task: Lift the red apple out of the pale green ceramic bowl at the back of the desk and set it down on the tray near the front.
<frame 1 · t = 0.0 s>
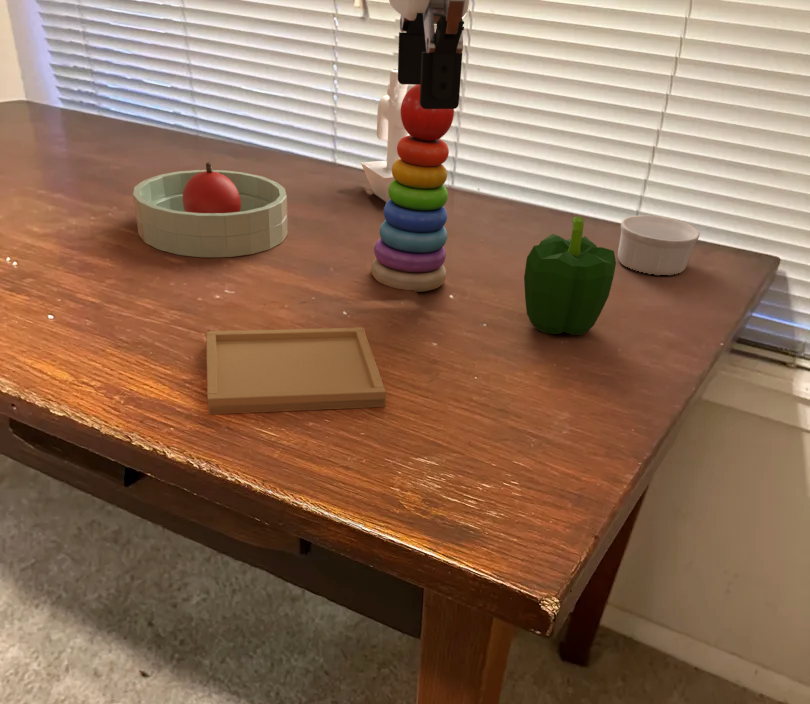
hand: (426, 95, 71), 19 cm above the table, tool pointing down, fingers open, 9 cm apart
apple: (214, 231, 93), point 1 cm above the table, touching bowl
stacking toy: (407, 282, 87), on the table, touching gripper
bell pepper: (559, 328, 80), on the table
tray: (292, 374, 69), on the table
figurine: (395, 198, 110), on the table
ramekin: (650, 266, 96), on the table
bowl: (214, 236, 94), on the table
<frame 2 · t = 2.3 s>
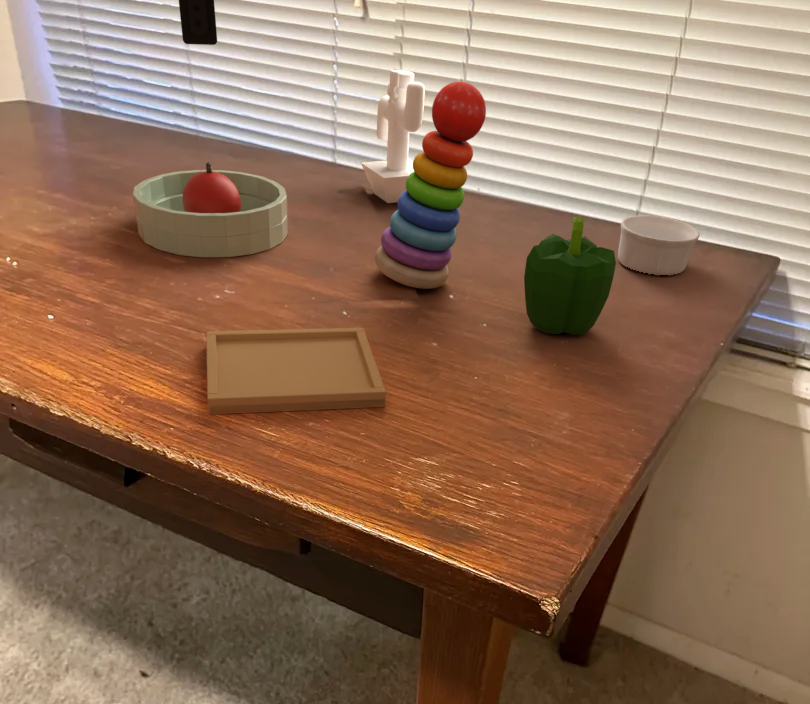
hand: (200, 35, 81), 20 cm above the table, tool pointing down, fingers open, 9 cm apart
stacking toy: (408, 275, 86), point 1 cm above the table
everything else where it was.
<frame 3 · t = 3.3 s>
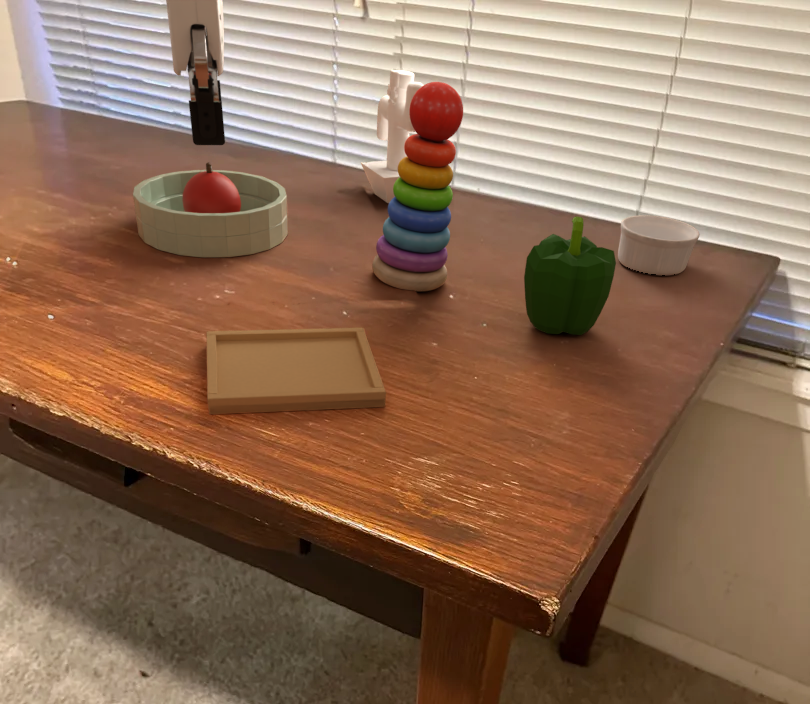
hand: (208, 132, 87), 11 cm above the table, tool pointing down, fingers open, 9 cm apart
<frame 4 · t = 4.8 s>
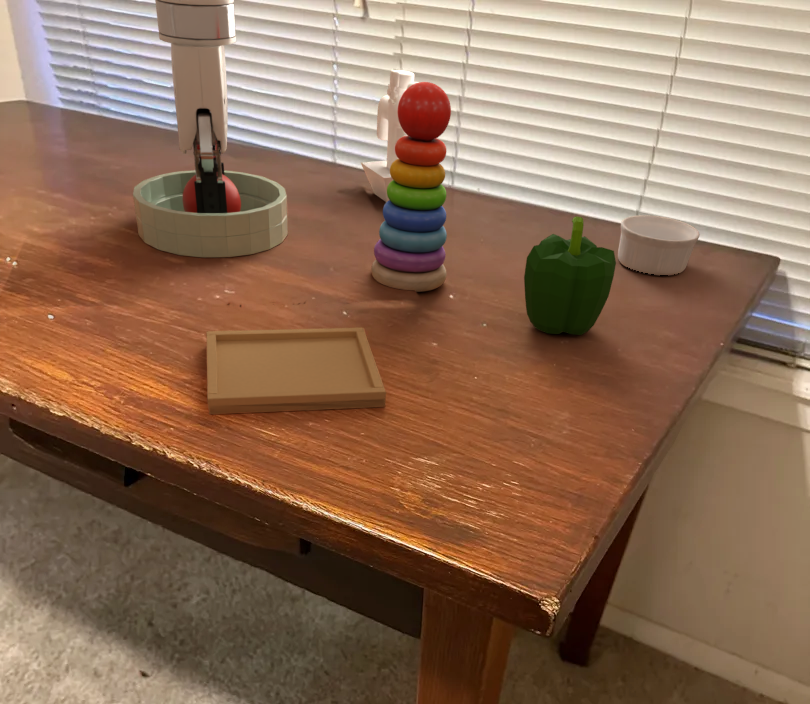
hand: (212, 207, 92), 3 cm above the table, tool pointing down, fingers closed on apple, 6 cm apart
apple: (214, 231, 93), point 1 cm above the table, touching bowl, gripper
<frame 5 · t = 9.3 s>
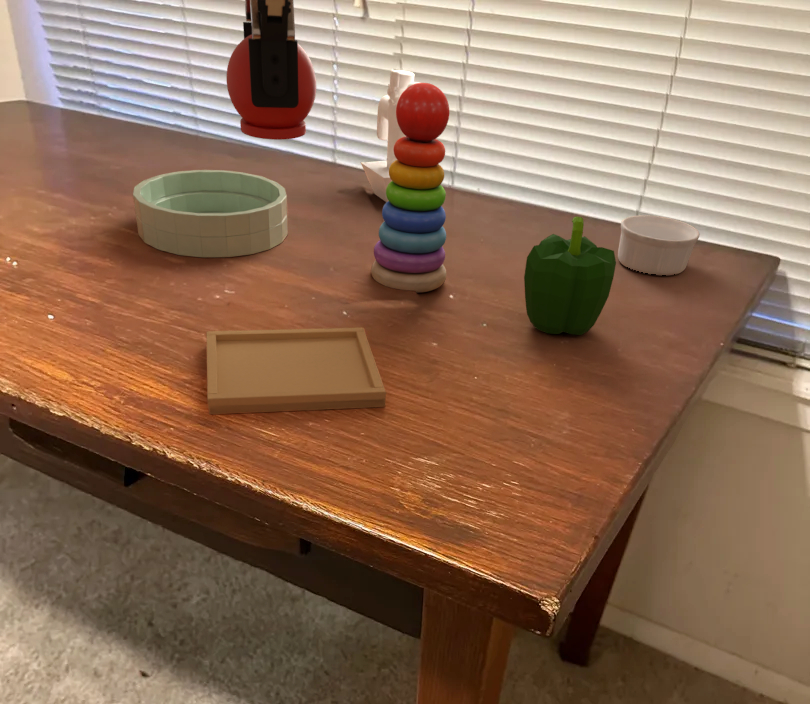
hand: (271, 92, 59), 21 cm above the table, tool pointing down, fingers closed on apple, 6 cm apart
apple: (273, 131, 61), point 18 cm above the table, touching gripper
when the fingers open (3 cm above the table, at t = 13.9 s): apple stays where it is, resting on tray.
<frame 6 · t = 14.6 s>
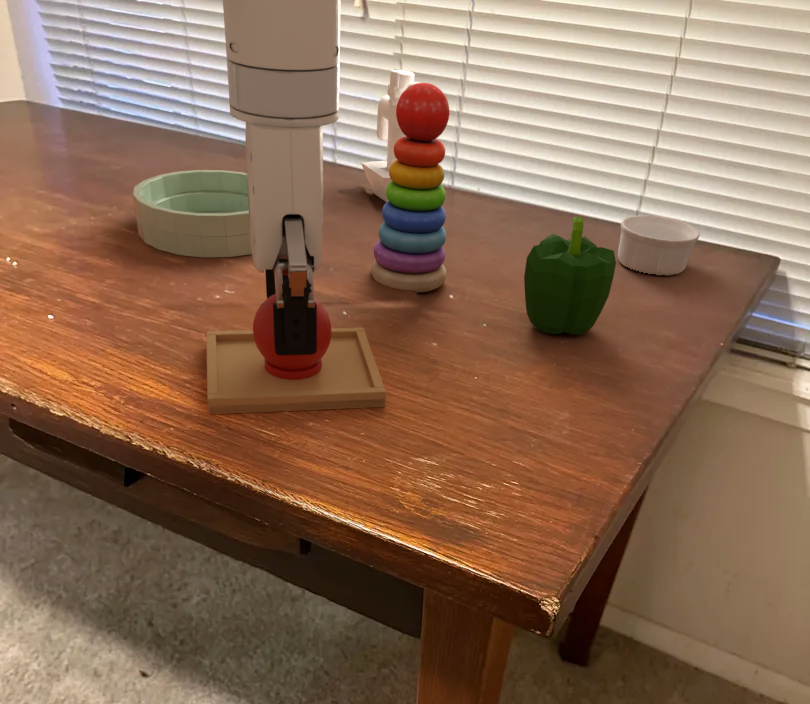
hand: (290, 326, 66), 4 cm above the table, tool pointing down, fingers open, 9 cm apart
apple: (293, 366, 69), point 1 cm above the table, touching tray
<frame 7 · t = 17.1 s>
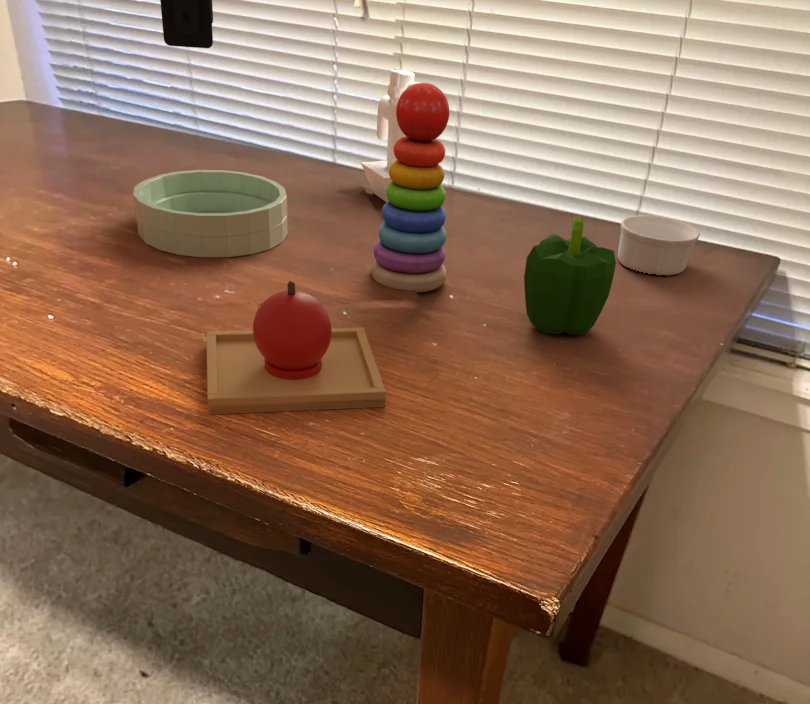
hand: (190, 34, 59), 24 cm above the table, tool pointing down, fingers open, 9 cm apart
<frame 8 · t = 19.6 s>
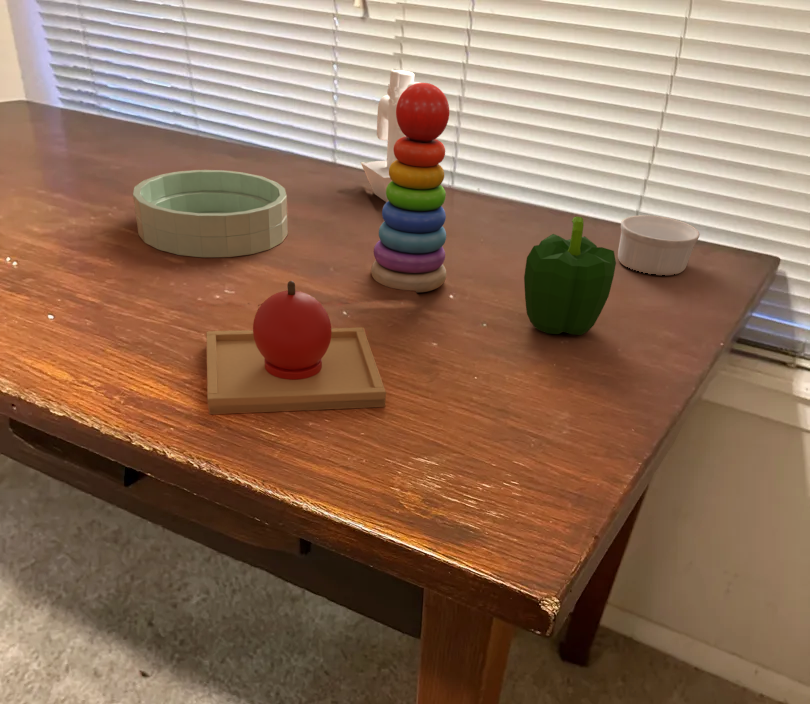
at the end: apple inside the target area on the tray (0.1 cm from its centre), point 0.8 cm above the tray's base; apple tilted 0°; apple touching tray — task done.
